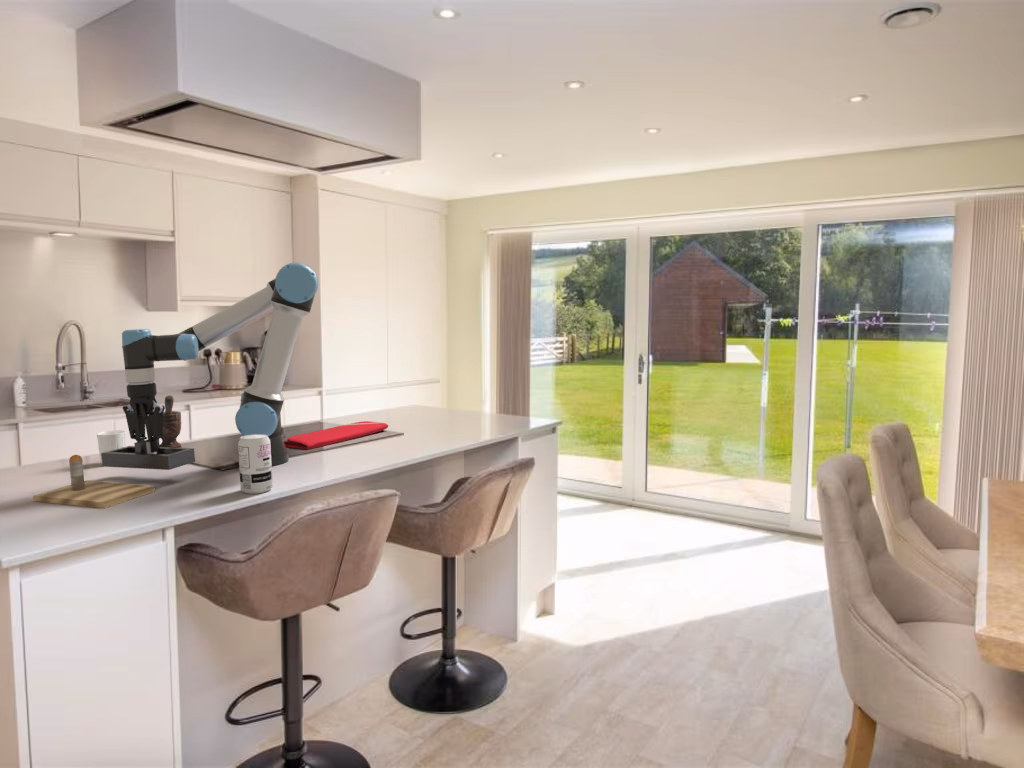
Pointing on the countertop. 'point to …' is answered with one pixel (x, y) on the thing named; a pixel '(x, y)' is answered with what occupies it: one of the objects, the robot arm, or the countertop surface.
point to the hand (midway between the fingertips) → (149, 462)
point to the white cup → (110, 441)
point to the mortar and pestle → (170, 425)
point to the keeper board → (91, 490)
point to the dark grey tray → (148, 457)
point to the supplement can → (255, 463)
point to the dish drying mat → (334, 435)
